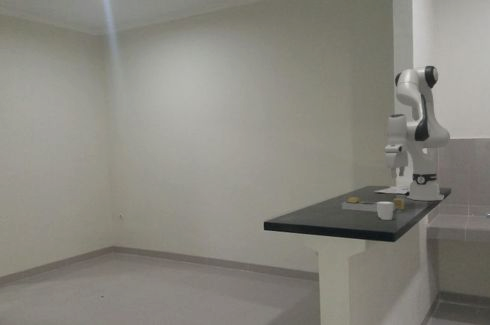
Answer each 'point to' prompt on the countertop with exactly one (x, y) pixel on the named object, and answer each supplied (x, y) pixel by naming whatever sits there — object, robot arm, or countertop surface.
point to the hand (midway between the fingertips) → (397, 177)
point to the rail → (363, 206)
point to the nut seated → (353, 200)
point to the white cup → (385, 210)
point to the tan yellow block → (399, 203)
